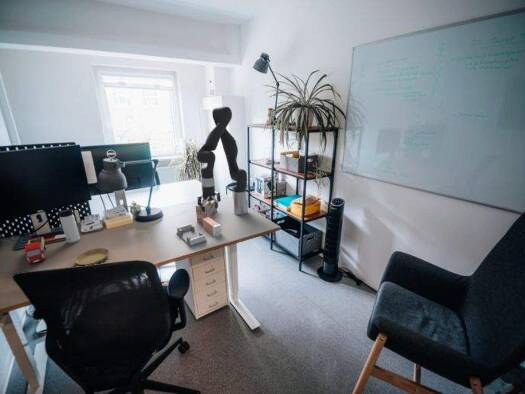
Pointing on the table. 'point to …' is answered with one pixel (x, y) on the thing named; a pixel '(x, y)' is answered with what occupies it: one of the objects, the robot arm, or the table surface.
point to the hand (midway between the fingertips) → (210, 210)
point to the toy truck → (35, 250)
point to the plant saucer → (92, 256)
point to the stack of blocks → (208, 212)
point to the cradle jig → (190, 235)
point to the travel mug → (69, 226)
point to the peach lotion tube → (212, 226)
